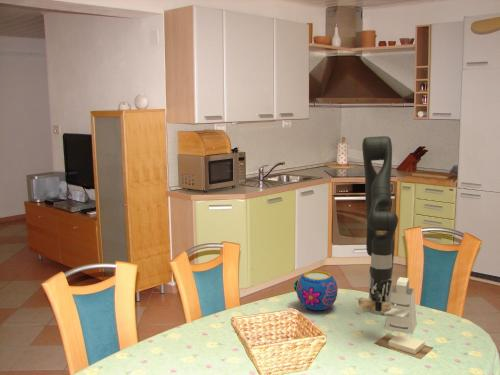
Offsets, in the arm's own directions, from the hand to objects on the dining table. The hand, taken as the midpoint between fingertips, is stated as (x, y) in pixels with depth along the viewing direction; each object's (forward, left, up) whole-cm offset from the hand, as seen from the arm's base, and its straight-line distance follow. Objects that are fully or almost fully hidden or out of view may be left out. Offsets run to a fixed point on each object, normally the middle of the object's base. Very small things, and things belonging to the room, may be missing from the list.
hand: (380, 309), depth 196 cm
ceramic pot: (-11, -35, -12) cm, 39 cm away
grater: (-15, +2, -12) cm, 19 cm away
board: (0, +10, -12) cm, 16 cm away
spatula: (0, +1, 0) cm, 1 cm away
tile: (0, +6, -10) cm, 12 cm away
